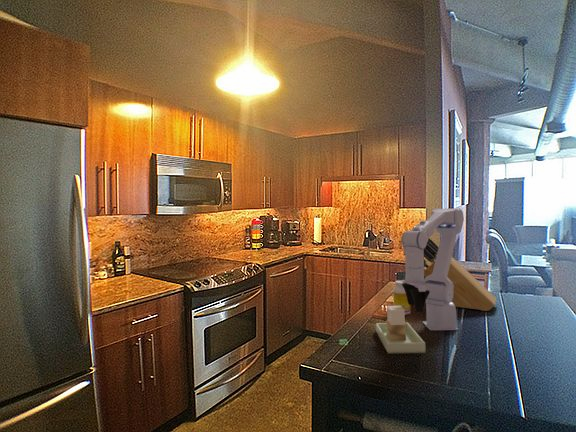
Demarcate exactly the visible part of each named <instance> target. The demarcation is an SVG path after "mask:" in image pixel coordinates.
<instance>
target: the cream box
mask: <svg viewBox="0 0 576 432" xmlns="http://www.w3.org/2000/svg"><path fill="white" fill-rule="evenodd" d="M386 307H387V309H386V310H387V311H386V313H387V320H388V322H389V323H390V325H405V323H406V319H405V317H406V315H405V310H404V309H403V308H402V307H401V306H394V305H387V306H386Z"/></svg>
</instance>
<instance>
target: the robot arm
mask: <svg viewBox="0 0 576 432" xmlns="http://www.w3.org/2000/svg"><path fill="white" fill-rule="evenodd" d="M464 221H465V219H464V212H463V210H462V209H461V208H460V207H457V208H436V207H435V208H433V209H432V210H431V215H430V217H429V218H428V219H427V220H423V219H422V220H420V221H419V223H418V224H416V226H414V227H413V228H412V229H411V230H405V231H404V232H403V233H402V235H401V239H400V242H401V246H402V249H403V254H404V253H405V255H404V257H405V258H404V260H405V261H404V263H405V266H404V268H405V279H401V280H402V282H403V283H402V286H403V288H404V290H405V293H406V296H407V301H408V304H409V305H411V306H414V310H415V312H416V313H422V312H424V309H426V310H425V311H426V314H425V315H426V320H425V321H424V320H423V321H422V324H424V326H425V327H426V328H427V329H428V330H429V331H432V332H433V331H458V329H459V328H458V326H457V325H458V324H457V309H456V308H457V307H456V306H455V305H454V303H453V302H451V301H452V299H453V288H454V285H453V283H452V282H451V281H450V280H449V279H448V278H447V276H448V271H449V267H450V262H451V258H452V257H453V252H454V248H455V244H456V241H457V235H458V234H460V233H461V232H462V230H463V229H462V228H463V226H464V225H463V224H464ZM435 232H437V233H439V234H440V235H441V236H440V240H439V245H438V252H437V255H436V260H434V261H435V265H434V269H433V273H432V274H431V275H429V276H427V277H425V279H424V269H425V266H424V260H425V257H424V248H425V247H426V244H427V241H428V238H430V239H431V236H433V235H434V234H435Z"/></svg>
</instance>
